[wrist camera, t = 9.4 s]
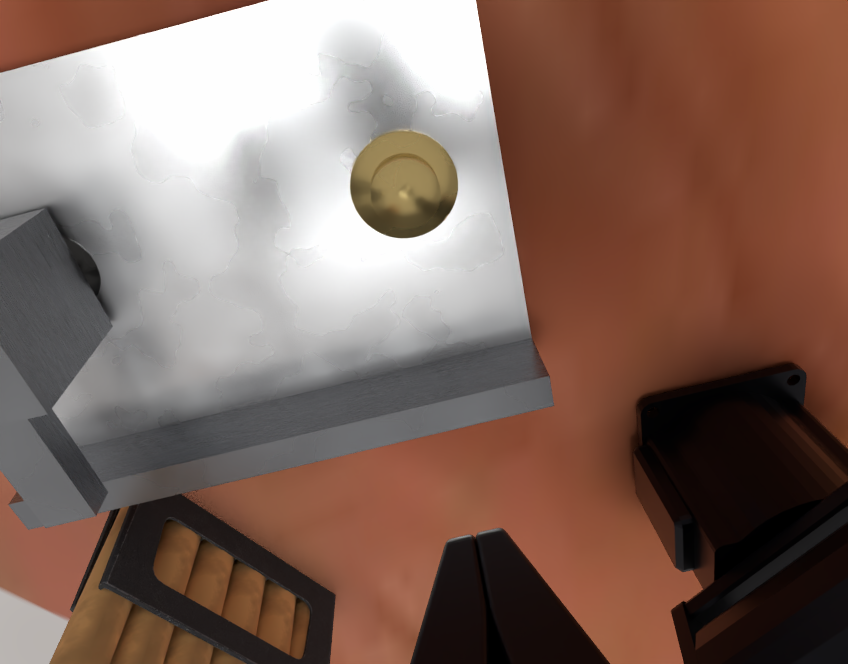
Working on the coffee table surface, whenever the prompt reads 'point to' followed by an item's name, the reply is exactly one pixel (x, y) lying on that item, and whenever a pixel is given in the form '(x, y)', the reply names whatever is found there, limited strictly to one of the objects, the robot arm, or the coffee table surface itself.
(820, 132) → the coffee table surface
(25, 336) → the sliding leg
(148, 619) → the ammunition clip
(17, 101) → the hole plate
